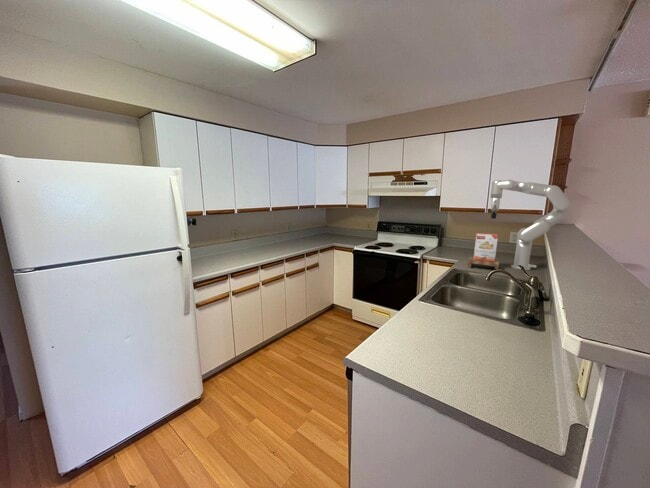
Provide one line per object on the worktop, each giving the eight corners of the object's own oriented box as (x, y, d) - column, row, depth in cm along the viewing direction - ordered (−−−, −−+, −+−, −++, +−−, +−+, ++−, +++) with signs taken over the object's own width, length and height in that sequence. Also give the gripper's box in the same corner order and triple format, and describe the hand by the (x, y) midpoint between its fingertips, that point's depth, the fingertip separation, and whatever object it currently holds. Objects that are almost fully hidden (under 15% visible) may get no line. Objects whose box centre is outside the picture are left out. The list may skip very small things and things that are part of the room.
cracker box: (474, 260, 208) (477, 234, 204) (473, 258, 214) (476, 233, 210) (495, 262, 203) (498, 235, 199) (493, 260, 208) (496, 234, 205)
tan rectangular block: (497, 267, 210) (498, 260, 209) (497, 271, 198) (498, 264, 197) (469, 263, 221) (470, 256, 220) (467, 267, 209) (468, 260, 208)
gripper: (501, 196, 201) (499, 219, 204) (501, 196, 215) (499, 217, 218) (490, 196, 205) (487, 218, 208) (490, 196, 219) (488, 217, 222)
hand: (493, 218), depth 213 cm, fingers open, 9 cm apart
